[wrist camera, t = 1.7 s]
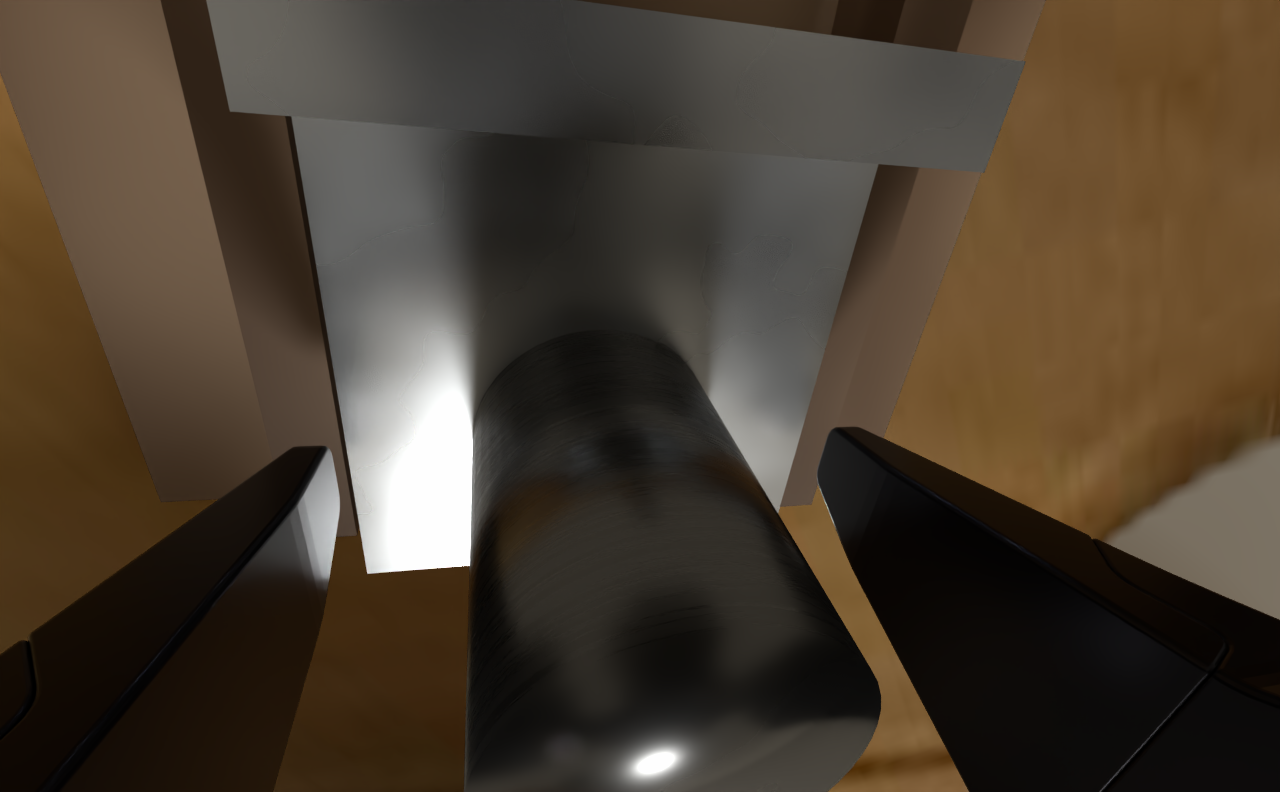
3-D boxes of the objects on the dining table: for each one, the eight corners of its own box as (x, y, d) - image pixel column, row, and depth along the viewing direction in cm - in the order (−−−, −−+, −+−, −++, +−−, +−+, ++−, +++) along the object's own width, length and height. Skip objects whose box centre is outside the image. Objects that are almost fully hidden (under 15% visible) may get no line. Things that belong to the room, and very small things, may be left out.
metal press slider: (819, 46, 9) (1455, 96, 3) (727, 463, 13) (935, 838, 7) (323, -19, 8) (-308, -171, 2) (386, 479, 12) (281, 984, 6)
